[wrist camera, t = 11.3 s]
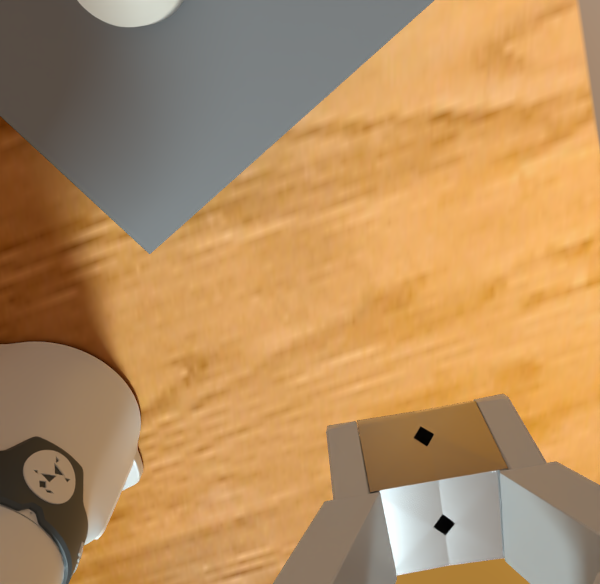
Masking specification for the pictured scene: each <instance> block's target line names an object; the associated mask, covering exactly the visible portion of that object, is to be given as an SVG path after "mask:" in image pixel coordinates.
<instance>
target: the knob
mask: <svg viewBox="0 0 600 584" xmlns="http://www.w3.org/2000/svg"><path fill="white" fill-rule="evenodd" d="M77 1H78V2H79V3H80V4H81V5H82V6H83V7H84V8H85V9H86V10H87V11H88V12H89V13H91V14H92V15H93V16H95V17H96V18H98V19H100V20H102V21H104V22H106V23H109V24H111V25H115V26H119V27H139V26H145V25H151V24H155V23H158V22H161V21H163V20H165V19H167V18H168V17H169V16H171V15H172V14H173V13H174V12H175V11H176V10H177V9H178V8H179V6H180V5H181V4H182V2H183V0H77Z"/></svg>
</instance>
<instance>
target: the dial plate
mask: <svg viewBox="0 0 600 584" xmlns="http://www.w3.org/2000/svg"><path fill="white" fill-rule="evenodd" d="M433 1H434V0H183V2H182V4H181V5H180V6H179V8H178V9H177V10H176V11H175V12H174V13H173V14H172V15H171V16H169V17H168V18H167V19H165V20H163V21H161V22H158V23H155V24H151V25H145V26H139V27H119V26H115V25H111V24H109V23H106V22H104V21H102V20H100V19H98V18H96V17H95V16H93V15H92V14H91V13H89V12H88V11H87V10H86V9H85V8H84V7H83V6H82V5H81V4H80V3H79V2H78V1H77V0H0V116H1V117H2V118H3V119H4V120H5V121H6V122H7V123H8V124H9V125H10V126H12V127H13V128H14V129H15V130H16V131H17V132H18V133H19V134H20V135H21V136H22V137H23V138H25V139H26V140H27V141H28V142H29V143H30V144H31V145H32V146H33V147H34V148H35V149H36V150H38V151H39V152H40V153H41V154H42V155H43V156H44V157H45V158H46V159H47V160H48V161H49V162H51V163H52V164H53V165H54V166H55V167H56V168H57V169H58V170H59V171H60V172H61V173H62V174H63V175H65V176H66V177H67V178H68V179H69V180H70V181H71V182H72V183H73V184H74V185H75V186H76V187H78V188H79V189H80V190H81V191H82V192H83V193H84V194H85V195H86V196H87V197H88V198H89V199H91V200H92V201H93V202H94V203H95V204H96V205H97V206H98V207H99V208H100V209H101V210H102V211H104V212H105V213H106V214H107V215H108V216H109V217H110V218H111V219H112V220H113V221H114V222H115V223H117V224H118V225H119V226H120V227H121V228H122V229H123V230H124V231H125V232H126V233H127V234H128V235H130V236H131V237H132V238H133V239H134V240H135V241H136V242H137V243H138V244H139V245H140V246H141V247H142V248H144V249H145V250H146V251H147V252H148V253H149V254H151V253H152V252H153V251H154V250H155V249H156V248H157V247H158V246H160V245H161V244H162V243H163V242H164V241H165V240H166V239H167V238H169V237H170V236H171V235H172V234H173V233H174V232H175V231H176V230H178V229H179V228H180V227H181V226H182V225H183V224H184V223H185V222H186V221H188V220H189V219H190V218H191V217H192V216H193V215H194V214H195V213H197V212H198V211H199V210H200V209H201V208H202V207H203V206H204V205H206V204H207V203H208V202H209V201H210V200H211V199H212V198H213V197H215V196H216V195H217V194H218V193H219V192H220V191H221V190H222V189H223V188H225V187H226V186H227V185H228V184H229V183H230V182H231V181H232V180H234V179H235V178H236V177H237V176H238V175H239V174H240V173H241V172H243V171H244V170H245V169H246V168H247V167H248V166H249V165H250V164H251V163H253V162H254V161H255V160H256V159H257V158H258V157H259V156H260V155H262V154H263V153H264V152H265V151H266V150H267V149H268V148H269V147H271V146H272V145H273V144H274V143H275V142H276V141H277V140H278V139H279V138H281V137H282V136H283V135H284V134H285V133H286V132H287V131H288V130H290V129H291V128H292V127H293V126H294V125H295V124H296V123H297V122H299V121H300V120H301V119H302V118H303V117H304V116H305V115H306V114H308V113H309V112H310V111H311V110H312V109H313V108H314V107H315V106H316V105H318V104H319V103H320V102H321V101H322V100H323V99H324V98H325V97H327V96H328V95H329V94H330V93H331V92H332V91H333V90H334V89H336V88H337V87H338V86H339V85H340V84H341V83H342V82H343V81H344V80H346V79H347V78H348V77H349V76H350V75H351V74H352V73H353V72H355V71H356V70H357V69H358V68H359V67H360V66H361V65H362V64H364V63H365V62H366V61H367V60H368V59H369V58H370V57H371V56H372V55H374V54H375V53H376V52H377V51H378V50H379V49H380V48H381V47H383V46H384V45H385V44H386V43H387V42H388V41H389V40H390V39H392V38H393V37H394V36H395V35H396V34H397V33H398V32H399V31H401V30H402V29H403V28H404V27H405V26H406V25H407V24H408V23H409V22H411V21H412V20H413V19H414V18H415V17H416V16H417V15H418V14H420V13H421V12H422V11H423V10H424V9H425V8H426V7H427V6H429V5H430V4H431V3H432V2H433Z"/></svg>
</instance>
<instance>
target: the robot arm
mask: <svg viewBox="0 0 600 584" xmlns="http://www.w3.org/2000/svg"><path fill="white" fill-rule="evenodd" d="M357 424H358V427H357ZM140 428H141V417H140V411H139V407H138V404H137V401H136V399H135V397H134V395H133V393H132V391H131V390H130V388H129V387H128V385H127V384H126V383H125V381H124V380H123V379H122V378H121V377H120V376H119V375H118V374H117V373H116V372H115V371H114V370H113V369H112V368H110V367H109V366H108V365H106V364H105V363H104V362H102V361H101V360H99V359H97V358H96V357H94V356H92V355H90V354H88V353H86V352H83V351H81V350H78V349H76V348H73V347H69V346H66V345H62V344H57V343H50V342H21V343H13V344H0V584H68V583H69V581H70V579H71V577H72V575H73V573H74V572H75V571H76V569H77V566H78V564H79V561H80V559H81V556H82V552H83V546H84V545H86V544H88V543H89V542H91V541H92V540H94V539H99V538H100V537H101V535H102V534H103V533H104V531H105V529H106V526H107V524H108V522H109V520H110V517H111V515H112V513H113V510H114V508H115V506H116V503H117V501H118V499H119V496H120V494H121V492H122V490H124V489H127V488H129V487H131V486H133V485H135V484H136V483H137V482H138V481H139V480H140V477H141V475H142V473H143V464H142V460H141V457H140V454H139V452H138V439H139V434H140ZM358 430H359V431H358ZM326 434H327V443H328V453H329V462H330V472H331V481H332V491H333V500H330V501H325V502H324V503H323V505H322V506H321V508H320V510H319V511H318V513H317V514H316V516H315V518H314V519H313V521H312V522H311V524H310V525H309V527H308V529H307V530H306V532H305V533H304V535H303V537H302V538H301V540H300V541H299V543H298V545H297V546H296V548H295V549H294V551H293V552H292V554H291V556H290V557H289V559H288V560H287V562H286V564H285V565H284V567H283V568H282V570H281V572H280V573H279V575H278V576H277V578H276V579H275V581H274V583H273V584H395V583H396V580H397V577H396V575H401V574H407V573H412V572H417V571H422V570H427V569H433V568H438V567H443V566H448V565H456V564H463V563H471V562H478V561H485V560H493V559H500V558H505V561H506V562H507V563H508V564H509V565H510V566H511V567H512V568H514V569H515V570H516V571H517V572H518V573H519V574H520V575H521V576H523V577H524V578H525V579H526V580H527V581H528V582H529V583H530V584H600V485H598V484H597V483H595V482H593V481H591V480H589V479H587V478H586V477H584V476H582V475H580V474H578V473H577V472H575V471H573V470H571V469H569V468H567V467H566V466H564V465H562V464H560V463H558V462H550V463H546V461H545V459H544V457H543V456H542V454H541V452H540V451H539V449H538V447H537V445H536V444H535V442H534V440H533V439H532V437H531V435H530V434H529V432H528V430H527V428H526V427H525V425H524V423H523V422H522V420H521V418H520V416H519V415H518V413H517V411H516V410H515V408H514V406H513V404H512V403H511V401H510V399H509V398H508V396H506V395H504V394H499V395H494V396H489V397H485V398H480V399H475V400H473V401H468V402H462V403H457V404H452V405H446V406H441V407H436V408H431V409H425V410H420V411H414V412H408V413H401V414H395V415H389V416H382V417H376V418H370V419H363V420H357V422H355V421H354V422H348V423H341V424H335V425H329V426H327V431H326ZM359 435H360V436H359Z"/></svg>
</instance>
